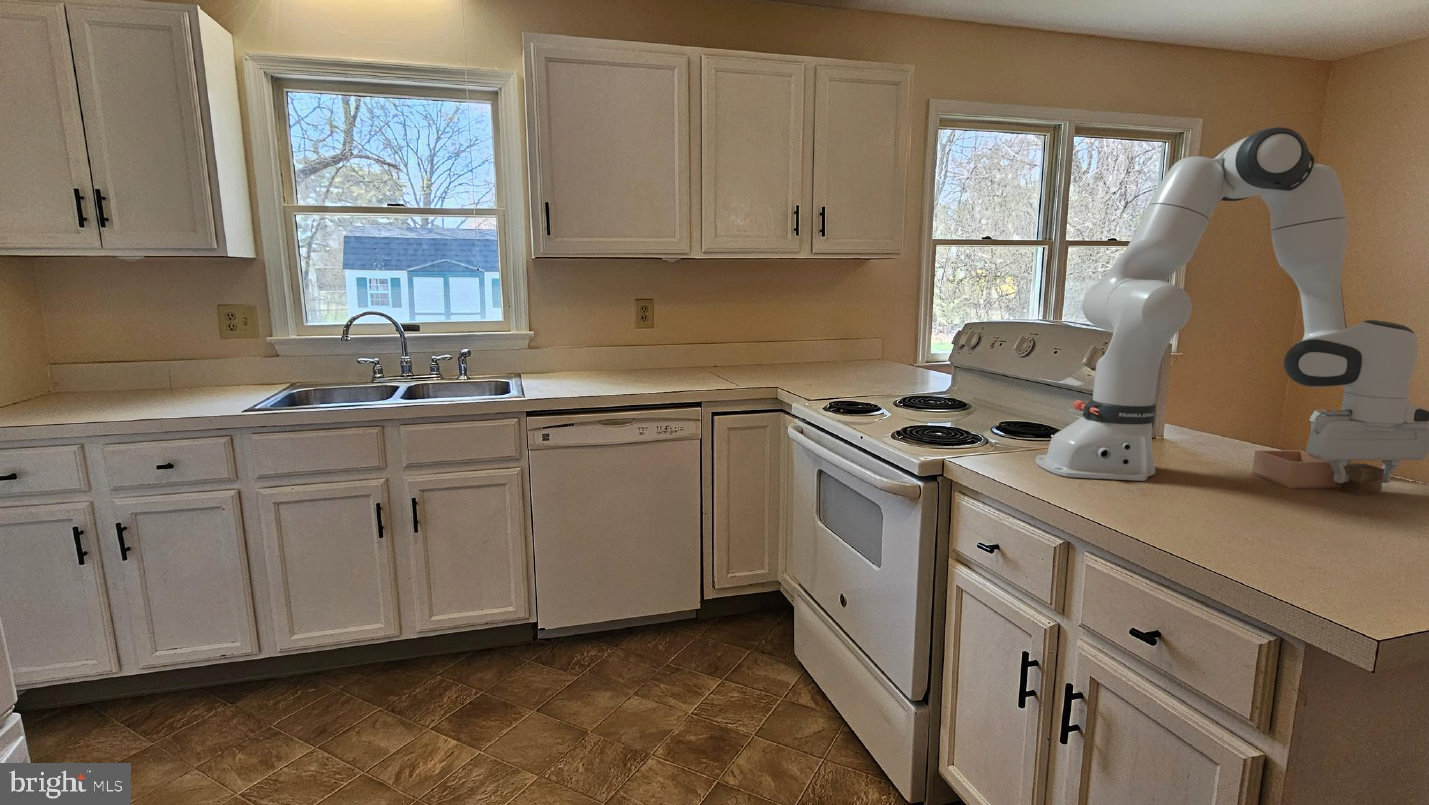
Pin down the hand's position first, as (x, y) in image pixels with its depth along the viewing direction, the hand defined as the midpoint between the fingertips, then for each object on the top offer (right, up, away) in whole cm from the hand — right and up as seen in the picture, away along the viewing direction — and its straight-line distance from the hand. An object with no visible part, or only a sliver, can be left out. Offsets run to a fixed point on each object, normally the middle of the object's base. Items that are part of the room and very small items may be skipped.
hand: (1360, 482), depth 134 cm
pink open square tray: (-7, -1, +7) cm, 10 cm away
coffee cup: (+7, +1, +15) cm, 17 cm away
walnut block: (0, -2, 0) cm, 2 cm away
